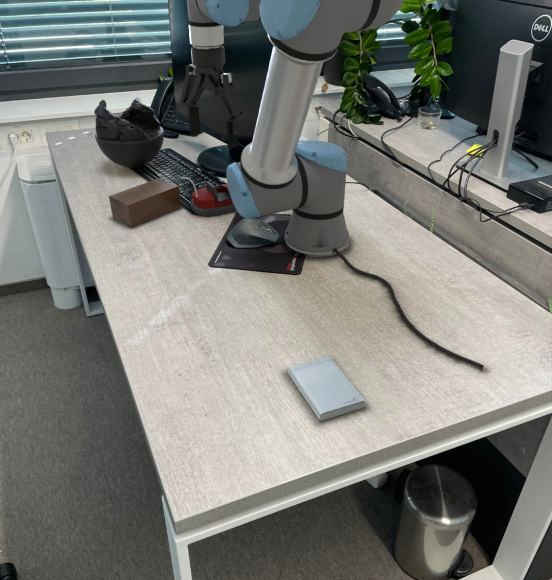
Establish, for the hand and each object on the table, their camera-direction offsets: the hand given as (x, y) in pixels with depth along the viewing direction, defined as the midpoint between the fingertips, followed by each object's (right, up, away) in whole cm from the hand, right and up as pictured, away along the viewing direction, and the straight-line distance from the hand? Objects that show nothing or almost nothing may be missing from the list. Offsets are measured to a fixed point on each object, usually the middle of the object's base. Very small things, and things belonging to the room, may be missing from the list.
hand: (213, 140), depth 143 cm
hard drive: (+24, -58, -46) cm, 78 cm away
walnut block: (-18, -16, +8) cm, 25 cm away
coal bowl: (-28, +4, +34) cm, 45 cm away
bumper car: (0, -14, +11) cm, 18 cm away
